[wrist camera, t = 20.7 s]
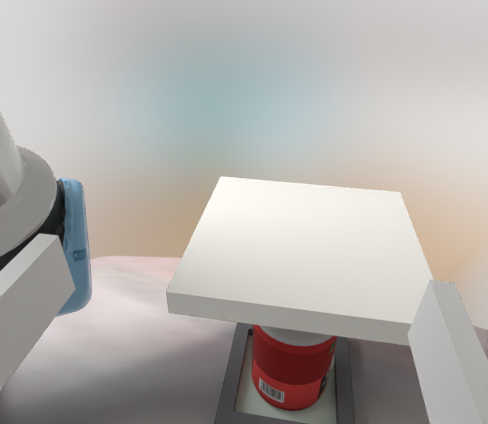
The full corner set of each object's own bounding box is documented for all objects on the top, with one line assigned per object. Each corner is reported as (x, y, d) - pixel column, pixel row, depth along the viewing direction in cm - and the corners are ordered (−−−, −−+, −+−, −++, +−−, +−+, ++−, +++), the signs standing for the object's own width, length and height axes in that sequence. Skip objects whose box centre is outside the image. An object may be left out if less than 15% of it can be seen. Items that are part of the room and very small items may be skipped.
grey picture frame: (354, 457, 34) (357, 448, 33) (214, 432, 35) (214, 423, 35) (345, 340, 45) (347, 331, 44) (238, 325, 46) (238, 317, 45)
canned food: (335, 409, 37) (354, 336, 31) (256, 418, 36) (260, 345, 30) (314, 345, 44) (326, 275, 38) (246, 351, 43) (248, 280, 37)
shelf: (384, 474, 33) (452, 329, 22) (186, 438, 35) (165, 291, 25) (363, 323, 47) (399, 192, 37) (223, 305, 49) (220, 176, 39)
